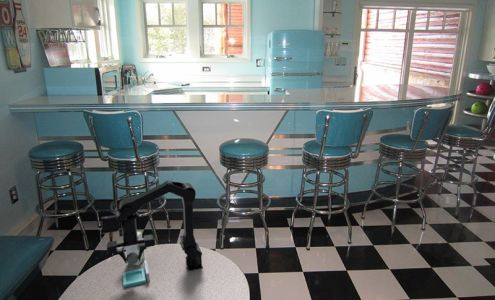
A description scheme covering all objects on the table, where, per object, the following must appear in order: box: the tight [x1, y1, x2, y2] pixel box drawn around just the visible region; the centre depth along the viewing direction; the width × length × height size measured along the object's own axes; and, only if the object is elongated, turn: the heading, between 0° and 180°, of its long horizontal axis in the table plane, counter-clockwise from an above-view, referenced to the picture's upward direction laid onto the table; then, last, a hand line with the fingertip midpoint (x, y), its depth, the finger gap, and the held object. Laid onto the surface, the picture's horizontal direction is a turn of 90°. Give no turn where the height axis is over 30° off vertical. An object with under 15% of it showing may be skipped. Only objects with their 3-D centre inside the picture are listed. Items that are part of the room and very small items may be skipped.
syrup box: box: [125, 230, 146, 266], centre depth 161 cm, size 6×6×14 cm
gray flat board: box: [143, 259, 151, 283], centre depth 153 cm, size 1×11×4 cm, turn 20°
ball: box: [126, 252, 139, 266], centre depth 147 cm, size 5×5×5 cm
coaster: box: [122, 267, 147, 288], centre depth 150 cm, size 9×9×1 cm
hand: (132, 261), depth 148 cm, fingers closed on ball, 5 cm apart
